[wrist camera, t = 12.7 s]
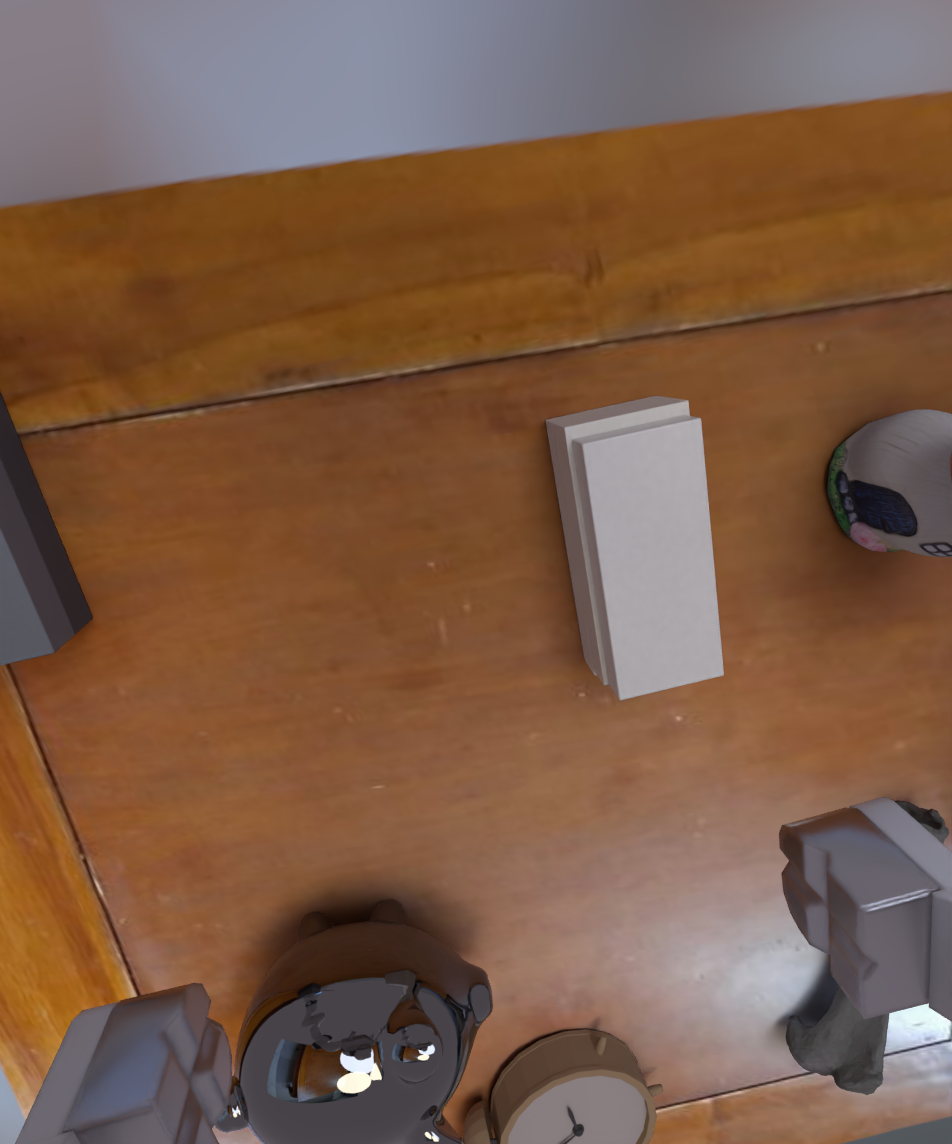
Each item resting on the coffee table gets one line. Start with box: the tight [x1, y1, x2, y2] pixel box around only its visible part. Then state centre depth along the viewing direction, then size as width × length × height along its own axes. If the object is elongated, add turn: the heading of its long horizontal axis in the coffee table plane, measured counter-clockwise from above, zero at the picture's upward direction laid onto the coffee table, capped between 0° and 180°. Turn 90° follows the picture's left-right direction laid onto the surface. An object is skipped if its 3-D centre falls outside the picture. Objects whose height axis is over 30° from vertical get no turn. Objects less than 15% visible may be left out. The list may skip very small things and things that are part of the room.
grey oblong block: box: [546, 396, 690, 686], centre depth 36 cm, size 14×6×4 cm, turn 11°
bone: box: [786, 801, 949, 1095], centre depth 46 cm, size 22×6×6 cm, turn 174°
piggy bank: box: [215, 900, 493, 1144], centre depth 39 cm, size 11×15×12 cm
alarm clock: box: [462, 1029, 663, 1144], centre depth 48 cm, size 11×5×15 cm
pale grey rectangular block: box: [572, 415, 724, 700], centre depth 33 cm, size 13×6×2 cm, turn 11°
